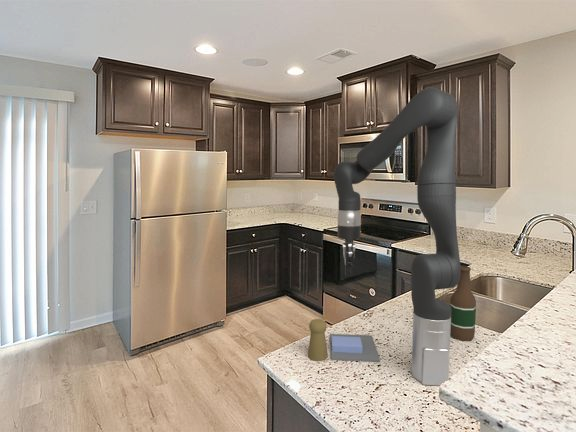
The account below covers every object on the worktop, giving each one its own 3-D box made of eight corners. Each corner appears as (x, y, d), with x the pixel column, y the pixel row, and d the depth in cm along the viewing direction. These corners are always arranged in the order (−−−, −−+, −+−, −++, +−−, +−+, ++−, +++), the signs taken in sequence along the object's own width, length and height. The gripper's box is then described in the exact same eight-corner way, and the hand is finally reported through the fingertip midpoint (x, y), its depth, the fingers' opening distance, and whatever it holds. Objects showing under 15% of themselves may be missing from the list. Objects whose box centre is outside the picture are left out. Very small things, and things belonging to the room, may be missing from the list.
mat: (380, 362, 99) (380, 360, 99) (331, 359, 100) (331, 358, 100) (371, 337, 115) (371, 335, 115) (329, 335, 116) (329, 333, 116)
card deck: (360, 343, 109) (362, 353, 103) (331, 341, 110) (332, 351, 104) (360, 337, 109) (362, 346, 103) (331, 335, 110) (332, 345, 104)
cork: (331, 355, 103) (332, 320, 102) (319, 363, 98) (319, 326, 97) (316, 349, 107) (316, 315, 106) (303, 356, 102) (303, 321, 101)
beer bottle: (463, 343, 110) (466, 270, 107) (443, 333, 117) (446, 265, 114) (480, 339, 113) (483, 268, 110) (459, 329, 120) (462, 262, 117)
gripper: (363, 226, 105) (362, 281, 106) (358, 221, 118) (357, 270, 120) (338, 226, 105) (338, 281, 107) (336, 221, 118) (336, 270, 120)
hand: (348, 275), depth 113 cm, fingers closed
